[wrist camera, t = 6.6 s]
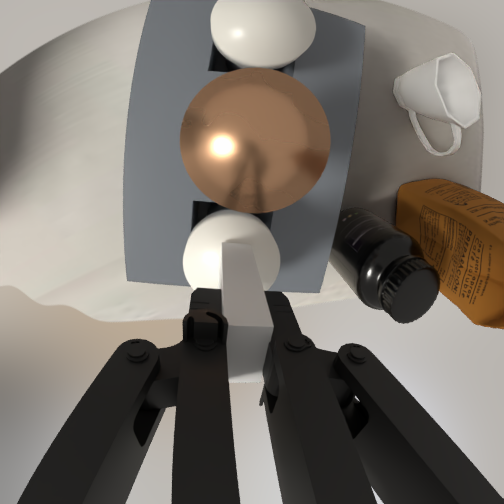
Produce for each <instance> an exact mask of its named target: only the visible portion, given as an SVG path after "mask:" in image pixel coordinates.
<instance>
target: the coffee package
mask: <svg viewBox="0 0 504 504" xmlns="http://www.w3.org/2000/svg"><path fill="white" fill-rule="evenodd" d="M397 195H398V201H397V212H396V227H398V228H399V229H401V230H403V231H404V232H406V233H408V234H409V235H411V236H412V237H413V238H415V239H416V240H417V241H418V243H419V244H420V246H421V248H422V250H423V254H424V259H425V260H426V261H427V262H428V263H429V264H430V265H432V266H433V267H434V268H435V269H436V270H437V271H438V273H439V277H440V283H441V284H440V289H439V291H440V292H441V293H442V294H443V295H444V296H446V297H447V298H448V299H449V300H450V301H452V303H454V304H455V305H457V306H458V307H459V309H460V310H461V311H462V312H463V313H464V314H465V315H466V316H467V317H468V318H469V319H470V320H471V321H472V322H473V323H474V324H476V325H481V326H484V327H491V328H500V329H504V204H503V203H502V202H500V201H498V200H496V199H494V198H492V197H490V196H488V195H485V194H483V193H480V192H478V191H476V190H473V189H471V188H469V187H467V186H464V185H461V184H458V183H454V182H451V181H448V180H445V179H426V180H421V181H416V182H410V183H406V184H403V185H401V186H400V188H399V190H398V194H397Z"/></svg>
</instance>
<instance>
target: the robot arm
mask: <svg viewBox="0 0 504 504" xmlns="http://www.w3.org/2000/svg"><path fill="white" fill-rule="evenodd" d="M262 375H263V377H264V382H265V384H264V388H263V391H262V395H261V398H260V404H259V405H260V406H262V405H263V402H264V405H265V411H266V416H267V422H268V427H269V433H270V438H271V443H272V449H273V454H274V460H275V465H276V471H277V476H278V481H279V486H280V491H281V497H282V502H283V504H377V502H376V499H375V496H374V493H373V491H372V488H373V489H374V491H375V492H376V493H377V495H378V496H379V497H380V499H381V500H382V502H383V503H384V504H504V499H503V498H502V497H501V496H500V495H499V494H498V493H497V491H496V490H495V489H494V488H493V487H492V486H491V484H490V483H489V482H488V481H487V479H486V478H485V477H484V476H483V475H482V474H481V472H480V471H479V470H478V469H477V468H476V467H475V466H474V464H473V463H472V462H471V461H470V460H469V459H468V458H467V456H466V455H465V454H464V453H463V452H462V451H461V449H460V448H459V447H458V446H457V445H456V444H455V443H454V442H453V441H452V439H451V438H450V437H449V436H448V435H447V434H446V433H445V431H444V430H443V429H442V428H441V427H440V426H439V425H438V424H437V423H436V422H435V420H434V419H433V418H432V417H431V416H430V415H429V414H428V413H427V412H426V410H425V409H424V408H423V407H422V406H421V405H420V404H419V403H418V402H417V401H416V399H415V398H414V397H413V396H412V395H411V394H410V393H409V392H408V391H407V390H406V389H405V388H404V386H403V385H401V383H400V382H399V381H398V380H397V379H396V378H395V377H394V376H393V375H392V374H391V372H389V370H388V369H387V368H386V367H385V366H384V365H383V364H382V363H381V362H380V361H379V360H378V359H377V357H375V355H374V354H373V353H372V352H371V351H370V350H368V349H367V348H366V347H364V346H362V345H359V344H354V343H350V344H345V345H343V346H341V348H340V349H339V351H338V353H336V352H331V351H326V350H322V349H318V348H316V347H315V344H314V343H313V342H312V340H311V339H310V338H308V337H307V336H305V335H303V334H302V333H301V330H300V328H299V325H298V323H297V320H296V318H295V315H294V313H293V310H292V307H291V305H290V302H289V300H288V298H287V297H286V296H285V295H284V294H283V293H282V292H281V291H264V289H263V286H262V282H261V279H260V275H259V271H258V268H257V264H256V261H255V257H254V253H253V250H252V246H251V244H239V243H226V242H222V245H221V256H220V267H219V279H218V289H213V288H199V287H197V288H196V290H195V291H194V292H193V293H192V294H191V301H190V308H189V313H188V314H187V315H185V317H184V319H183V340H182V341H181V342H180V343H178V344H176V345H174V346H171V347H167V348H160V349H158V348H156V346H155V345H154V344H153V343H151V342H149V341H147V340H142V339H132V340H128V341H126V342H124V343H122V344H121V345H120V346H119V347H118V348H117V350H116V351H115V352H114V353H113V355H112V356H111V358H110V359H109V360H108V362H107V363H106V364H105V366H104V367H103V368H102V370H101V371H100V373H99V374H98V375H97V377H96V378H95V380H94V381H93V383H92V384H91V385H90V387H89V388H88V390H87V391H86V393H85V394H84V396H83V397H82V398H81V400H80V401H79V403H78V404H77V406H76V407H75V409H74V410H73V412H72V413H71V415H70V416H69V418H68V419H67V421H66V422H65V424H64V425H63V427H62V428H61V430H60V432H59V433H58V435H57V436H56V438H55V439H54V441H53V442H52V444H51V446H50V447H49V449H48V451H47V452H46V454H45V455H44V457H43V459H42V460H41V462H40V464H39V465H38V467H37V469H36V471H35V472H34V474H33V476H32V477H31V479H30V481H29V483H28V485H27V486H26V488H25V490H24V492H23V494H22V495H21V497H20V499H19V501H18V503H17V504H125V503H126V501H127V498H128V496H129V494H130V491H131V489H132V486H133V484H134V482H135V479H136V477H137V474H138V472H139V470H140V467H141V465H142V463H143V460H144V458H145V456H146V453H147V451H148V448H149V446H150V444H151V442H152V439H153V437H154V435H155V432H156V430H157V428H158V425H159V423H160V421H161V418H162V416H163V414H164V412H165V409H166V408H167V407H172V406H176V416H175V431H174V446H173V466H172V504H240V497H239V488H238V480H237V470H236V460H235V451H234V439H233V428H232V418H231V417H232V416H231V405H230V391H229V382H238V383H240V382H241V383H247V382H248V383H258V382H259V383H260V382H261V378H262ZM355 396H356V397H357V398H358V399H359V401H358V400H357V399H356V398H355ZM371 486H372V488H371Z"/></svg>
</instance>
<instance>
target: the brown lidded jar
mask: <svg viewBox="0 0 504 504" xmlns="http://www.w3.org/2000/svg"><path fill="white" fill-rule="evenodd" d="M330 144H331V139H330V129H329V124H328V120H327V117H326V114H325V112H324V110H323V108H322V106H321V104H320V103H319V101H318V100H317V98H316V97H315V96H314V94H313V93H312V92H311V91H310V90H309V89H308V88H307V87H306V86H305V85H303V84H302V83H301V82H299V81H298V80H296V79H295V78H293V77H291V76H289V75H287V74H285V73H282V72H279V71H276V70H272V69H267V68H244V69H238V70H234V71H231V72H228V73H225V74H223V75H221V76H219V77H217V78H216V79H214V80H212V81H211V82H209V83H208V84H207V85H206V86H205V87H203V88H202V89H201V90H200V91H199V92H198V94H197V95H196V96H195V97H194V98H193V100H192V101H191V103H190V104H189V106H188V108H187V110H186V112H185V115H184V118H183V121H182V125H181V130H180V151H181V156H182V160H183V163H184V166H185V168H186V171H187V173H188V174H189V176H190V178H191V180H192V181H193V182H194V184H195V185H196V186H197V188H198V189H199V190H200V191H201V192H202V193H203V194H204V195H206V196H207V197H208V198H210V199H211V200H212V201H214V202H216V203H217V204H219V205H221V206H223V207H226V208H228V209H231V210H235V211H238V212H244V213H267V212H272V211H276V210H279V209H282V208H285V207H287V206H289V205H291V204H293V203H295V202H296V201H298V200H299V199H301V198H302V197H303V196H305V195H306V194H307V193H308V192H309V191H310V190H311V189H312V188H313V187H314V186H315V184H316V183H317V181H318V180H319V179H320V177H321V175H322V173H323V171H324V169H325V167H326V164H327V161H328V157H329V153H330Z"/></svg>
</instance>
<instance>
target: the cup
mask: <svg viewBox="0 0 504 504" xmlns="http://www.w3.org/2000/svg"><path fill="white" fill-rule="evenodd" d="M393 94H394V96H395V98H396V100H397V102H398V104H399V106H400V107H402V108H404V109H406V110H408V111H409V118H410V120H411V123H412V125H413V128H414V129H415V131H416V133H417V135H418V137H419V139H420V141H421V143H422V144H423V146H424V147H425V148H426V150H427V151H428V152H430V153H431V154H433V155H437V156H447V155H452V154H454V153H455V152H456V151H457V150H458V149H459V148H460V145H461V128H464V129H466V128H468V127H469V126H471V125H472V124H473V123H475V122H476V121H478V120H479V117H480V108H481V96H482V95H481V92H480V89H479V86H478V84H477V81H476V78H475V76H474V73H473V71H472V69H471V67H470V66H469V65H467V64H466V63H465V62H464V61H463V60H462V59H460V58H459V57H458V56H457V55H456V54H454V53H453V52H452V53H449V54H446V55H443V56H440V57H438V58H435V59H433V60H431V61H428V62H426V63H424V64H422V65H420V66H417V67H415V68H413V69H411V70H409V71H407V72H406V73H405V74H403V75H401V76H399V77H397V78H395V80H394V86H393ZM415 112H417V113H418V114H421V115H423V116H426V117H428V118H431V119H434V120H438V121H442V122H445V123H449V124H451V128H452V132H453V137H454V142H453V146H452V147H451V148H450V149H449V150H448V151H447V152H438V151H436V150H435V149H433V148H432V147H431V145H430V144H429V142H428V141H427V139H426V137H425V135H424V133H423V131H422V129H421V128H420V126H419V123H418V121H417V118H416V113H415Z"/></svg>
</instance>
